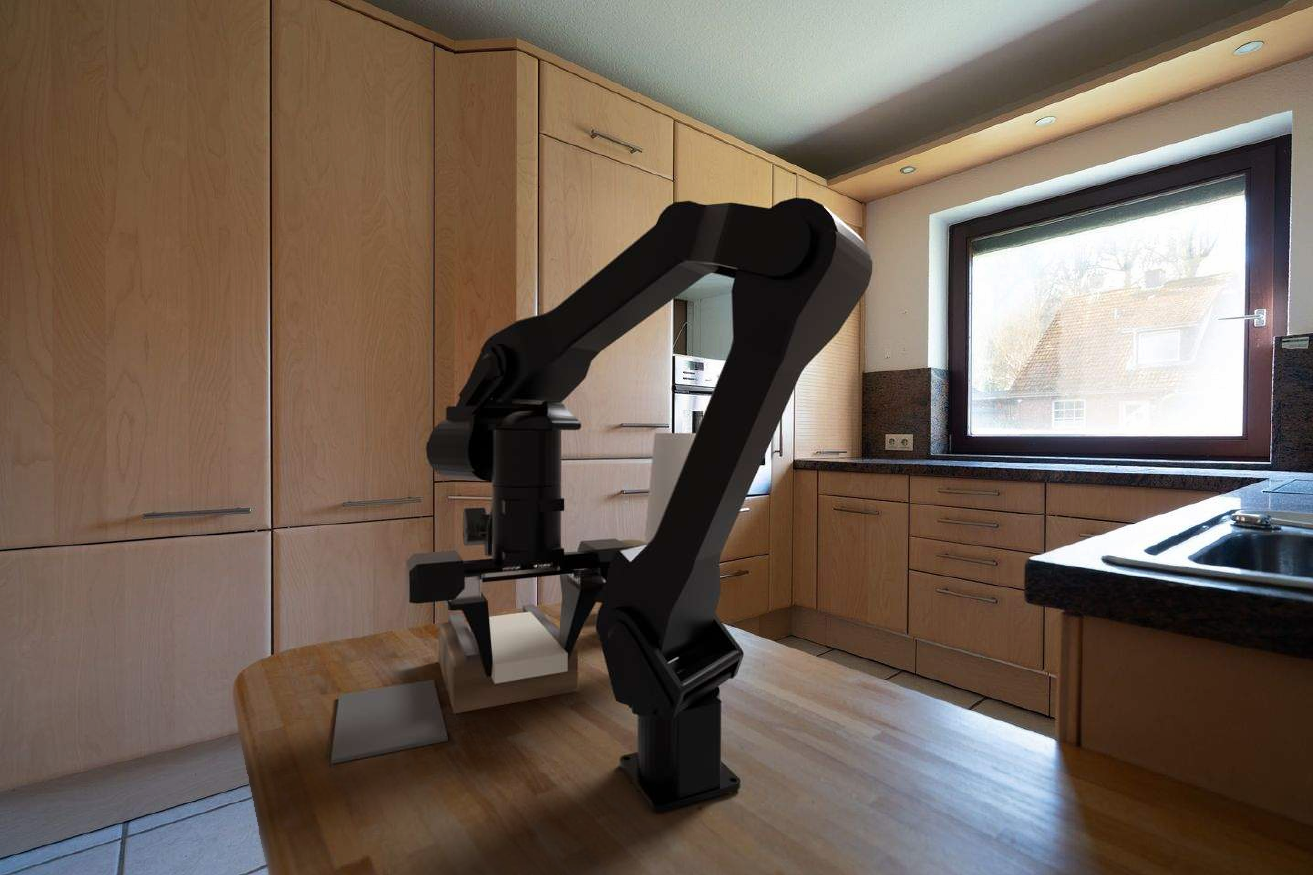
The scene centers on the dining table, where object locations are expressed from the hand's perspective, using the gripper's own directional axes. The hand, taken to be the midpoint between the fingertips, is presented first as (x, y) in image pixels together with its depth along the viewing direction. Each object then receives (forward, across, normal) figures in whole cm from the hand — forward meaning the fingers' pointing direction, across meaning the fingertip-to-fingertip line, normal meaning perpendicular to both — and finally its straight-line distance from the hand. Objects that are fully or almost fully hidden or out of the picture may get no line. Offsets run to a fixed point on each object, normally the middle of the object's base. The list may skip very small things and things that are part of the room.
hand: (526, 668), depth 51 cm
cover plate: (0, 0, -5) cm, 5 cm away
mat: (+4, +10, -4) cm, 12 cm away
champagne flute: (+4, -18, -6) cm, 19 cm away
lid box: (+4, 0, -10) cm, 10 cm away
